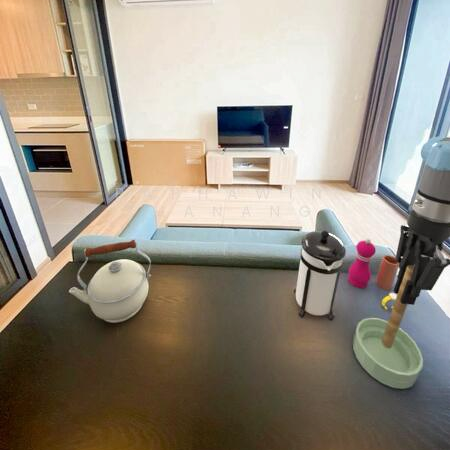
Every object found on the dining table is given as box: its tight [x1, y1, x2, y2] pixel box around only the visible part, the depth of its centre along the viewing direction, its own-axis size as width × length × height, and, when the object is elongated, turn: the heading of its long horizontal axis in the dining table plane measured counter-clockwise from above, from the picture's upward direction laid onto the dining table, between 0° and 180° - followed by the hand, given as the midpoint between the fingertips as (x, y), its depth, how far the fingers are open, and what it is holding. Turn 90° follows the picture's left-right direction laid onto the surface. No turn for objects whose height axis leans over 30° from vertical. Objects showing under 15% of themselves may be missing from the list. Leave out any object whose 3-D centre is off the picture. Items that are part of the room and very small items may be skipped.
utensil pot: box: [375, 254, 399, 291], centre depth 90 cm, size 5×5×12 cm
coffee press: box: [293, 230, 347, 321], centre depth 80 cm, size 17×16×30 cm
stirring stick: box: [381, 265, 414, 349], centre depth 62 cm, size 2×2×26 cm
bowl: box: [352, 317, 424, 390], centre depth 67 cm, size 15×15×6 cm
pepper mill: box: [347, 238, 376, 289], centre depth 90 cm, size 7×7×20 cm
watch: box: [381, 292, 397, 311], centre depth 82 cm, size 6×3×6 cm, turn 87°
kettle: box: [68, 239, 152, 324], centre depth 79 cm, size 25×18×25 cm
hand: (403, 297), depth 60 cm, fingers closed on stirring stick, 2 cm apart
